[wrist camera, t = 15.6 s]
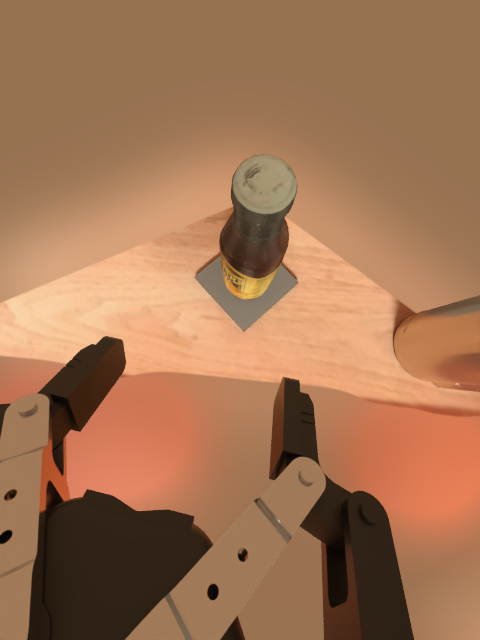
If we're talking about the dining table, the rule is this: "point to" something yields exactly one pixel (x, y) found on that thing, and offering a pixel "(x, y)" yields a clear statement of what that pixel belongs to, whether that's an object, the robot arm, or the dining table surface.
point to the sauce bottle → (257, 225)
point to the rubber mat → (242, 309)
